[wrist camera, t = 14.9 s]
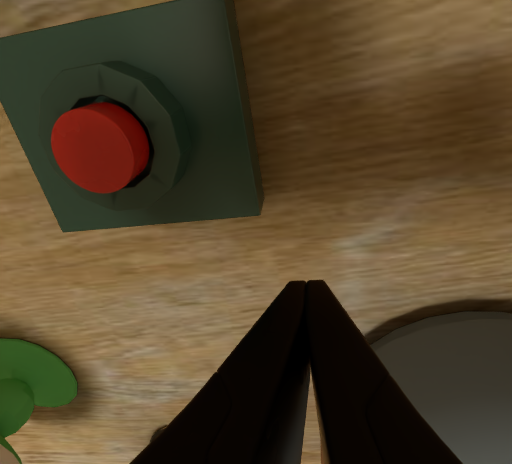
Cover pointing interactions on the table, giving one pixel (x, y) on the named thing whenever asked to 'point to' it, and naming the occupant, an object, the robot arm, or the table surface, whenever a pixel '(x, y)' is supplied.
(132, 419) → the table surface
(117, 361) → the table surface
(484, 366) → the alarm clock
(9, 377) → the cup
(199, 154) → the housing
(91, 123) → the button
